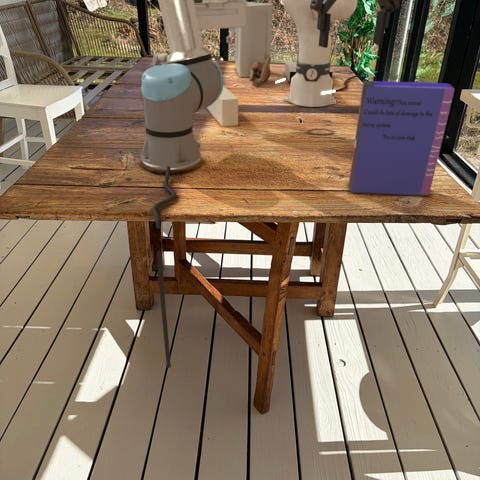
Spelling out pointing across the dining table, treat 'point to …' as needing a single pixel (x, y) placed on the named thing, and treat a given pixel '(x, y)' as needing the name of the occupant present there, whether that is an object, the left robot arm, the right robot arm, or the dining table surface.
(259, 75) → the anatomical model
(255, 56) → the white upright box
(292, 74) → the disc drive
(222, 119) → the bar
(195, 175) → the dining table surface
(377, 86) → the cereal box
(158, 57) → the toy
